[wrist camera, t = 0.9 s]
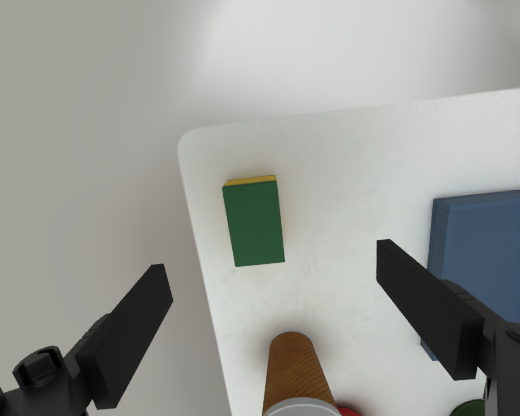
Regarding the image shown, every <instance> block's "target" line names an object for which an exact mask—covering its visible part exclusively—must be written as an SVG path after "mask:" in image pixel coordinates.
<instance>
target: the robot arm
mask: <svg viewBox="0 0 520 416" xmlns="http://www.w3.org/2000/svg"><path fill="white" fill-rule="evenodd" d="M376 280H377V282H378V283H379V284H380V286H381V287H382V288H383V290H384V291H385V292H386V293H387V295H388V296H389V297H390V299H391V300H392V301H393V302H394V304H395V305H396V306H397V308H398V309H399V310H400V311H401V313H402V314H403V315H404V317H405V318H406V319H407V320H408V322H409V323H410V324H411V326H412V327H413V328H414V329H415V331H416V332H417V333H418V335H419V336H420V337H421V338H422V340H423V341H424V342H425V344H426V345H427V346H428V347H429V349H430V350H431V351H432V353H433V354H434V355H435V357H436V358H437V359H438V360H439V362H440V363H441V364H442V366H443V367H444V368H445V369H446V371H447V372H448V373H449V375H450V376H451V377H452V378H453V380H454V381H457V380H469V379H476V372H477V366H478V367H479V368H480V369H481V370H482V371H483V373H484V374H485V375H486V376H487V378H486V383H485V389H484V395H483V399H484V400H485V416H520V323H515V322H507V321H506V320H504V319H503V318H502V317H501V316H499V315H498V314H497V313H495V312H494V311H493V310H491V309H490V308H489V307H487V306H486V305H485V304H484V303H482V302H481V301H480V300H477V298H476V297H474V296H473V295H472V294H469V292H468V291H467V290H465V289H464V288H463V287H461V286H460V285H459V284H456V283H454V282H452V281H450V280H448V279H441V280H439V279H438V278H436V277H435V276H434V275H433V274H432V273H430V272H429V271H428V270H427V269H425V268H424V267H423V266H422V265H421V264H419V263H418V262H417V261H416V260H415V259H413V258H412V257H411V256H410V255H409V254H407V253H406V252H405V251H404V250H402V249H401V248H400V247H399V246H398V245H396V244H395V243H394V242H393V241H392V240H390V239H385V240H377V268H376ZM172 302H173V298H172V294H171V290H170V286H169V282H168V279H167V275H166V272H165V267H164V264H156V265H151V266H150V267H149V269H148V270H147V271H146V272H145V273H144V274H143V276H142V277H141V278H140V279H139V280H138V281H137V283H136V284H135V285H134V286H133V288H132V289H131V290H130V291H129V292H128V293H127V294H126V295H125V297H124V298H123V299H122V300H121V301H120V302H119V304H118V305H117V306H116V307H115V309H114V310H113V311H112V312H111V313H109V314H105V315H104V316H103V317H101V318H100V319H99V320H97V321H96V322H95V323H94V324H93V325H92V326H91V328H90V329H89V330H88V332H86V333H85V334H84V335H83V337H82V339H80V340H79V341H78V342H77V343H76V344H75V346H74V347H73V348H72V349H71V350H70V351H69V352H68V353H67V354H66V356H65V357H64V358H63V357H62V355H61V353H60V350H59V348H58V347H56V346H48V347H45V348H42V349H39V350H37V351H35V352H33V353H32V354H30V355H28V356H27V357H26V358H24V359H23V360H22V361H21V362H20V363H19V364H18V365H17V366H16V367H15V368H14V370H13V375H14V377H15V379H16V381H17V383H18V385H19V386H20V388H17V389H14V390H11V391H8V392H5V393H3V391H2V389H1V388H0V416H89V415H88V413H87V410H86V408H87V406H88V405H89V404H90V402H91V400H92V399H93V401H94V403H95V406H96V408H97V410H100V409H112V408H116V407H117V405H118V403H119V401H120V399H121V397H122V395H123V394H124V392H125V390H126V388H127V386H128V384H129V382H130V381H131V379H132V377H133V375H134V373H135V371H136V369H137V368H138V366H139V364H140V362H141V360H142V358H143V356H144V355H145V353H146V351H147V349H148V347H149V345H150V343H151V342H152V340H153V338H154V336H155V334H156V332H157V330H158V329H159V327H160V325H161V323H162V321H163V319H164V317H165V316H166V314H167V312H168V310H169V308H170V306H171V304H172Z"/></svg>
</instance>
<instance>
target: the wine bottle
mask: <svg viewBox="0 0 520 416" xmlns="http://www.w3.org/2000/svg"><path fill="white" fill-rule="evenodd" d="M451 416H485V401H482V400H478V401H471V402H468V403H465V404H463V405H461V406H459V407H458V408H457V409H456V410H455V411H454V412H453V413H452V415H451Z"/></svg>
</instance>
